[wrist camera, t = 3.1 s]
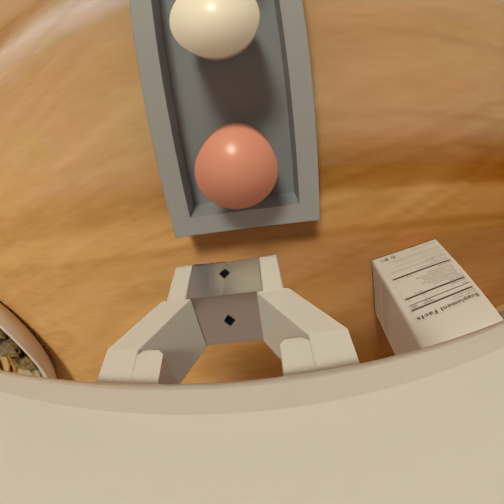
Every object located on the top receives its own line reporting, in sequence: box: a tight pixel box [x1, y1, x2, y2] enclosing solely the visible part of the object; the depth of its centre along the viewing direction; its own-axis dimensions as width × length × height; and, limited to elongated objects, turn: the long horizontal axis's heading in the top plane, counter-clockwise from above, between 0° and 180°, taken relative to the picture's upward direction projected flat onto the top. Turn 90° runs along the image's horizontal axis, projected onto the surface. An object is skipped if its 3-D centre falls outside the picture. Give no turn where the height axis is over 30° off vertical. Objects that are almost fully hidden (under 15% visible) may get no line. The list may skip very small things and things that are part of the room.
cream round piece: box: [169, 0, 260, 60], centre depth 15 cm, size 5×5×4 cm
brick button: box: [195, 122, 278, 209], centre depth 20 cm, size 5×5×4 cm
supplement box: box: [372, 240, 503, 355], centre depth 27 cm, size 9×9×15 cm
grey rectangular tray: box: [129, 0, 320, 238], centre depth 18 cm, size 12×32×4 cm, turn 7°
